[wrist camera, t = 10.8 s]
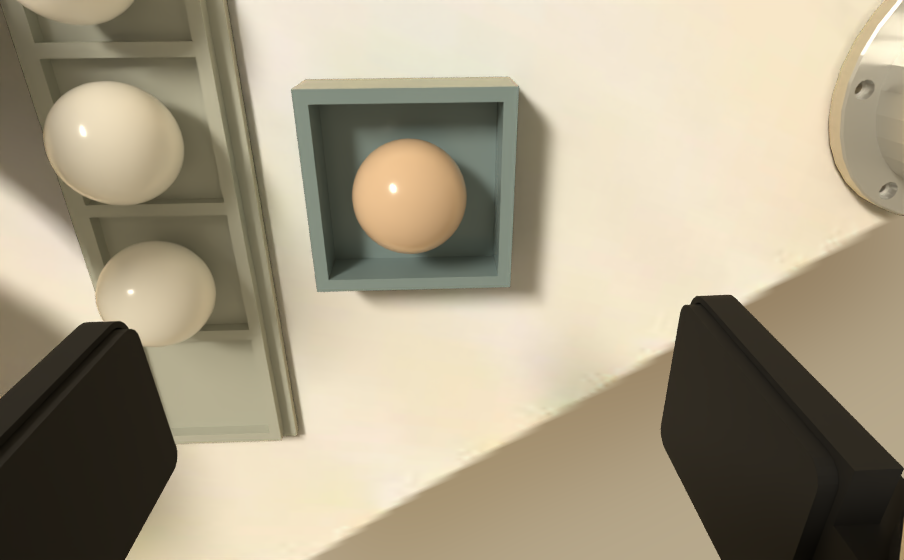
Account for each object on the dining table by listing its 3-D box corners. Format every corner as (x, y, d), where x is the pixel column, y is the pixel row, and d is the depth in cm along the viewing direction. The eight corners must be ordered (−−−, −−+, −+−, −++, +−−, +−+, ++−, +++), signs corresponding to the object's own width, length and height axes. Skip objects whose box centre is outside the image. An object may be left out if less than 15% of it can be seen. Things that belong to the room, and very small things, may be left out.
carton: (198, -172, 21) (185, -181, 20) (298, 429, 34) (294, 444, 33) (-49, -173, 21) (-74, -181, 20) (147, 434, 34) (138, 449, 33)
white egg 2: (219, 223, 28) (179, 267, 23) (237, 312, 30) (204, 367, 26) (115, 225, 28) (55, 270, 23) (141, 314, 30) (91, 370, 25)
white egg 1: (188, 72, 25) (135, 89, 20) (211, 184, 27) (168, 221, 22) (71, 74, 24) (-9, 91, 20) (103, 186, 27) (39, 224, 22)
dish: (509, 76, 26) (519, 86, 23) (502, 260, 30) (510, 287, 27) (305, 79, 25) (290, 89, 23) (327, 265, 30) (317, 292, 27)
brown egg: (464, 126, 26) (469, 154, 22) (464, 228, 28) (469, 272, 24) (355, 127, 26) (337, 155, 21) (363, 229, 28) (349, 274, 24)
